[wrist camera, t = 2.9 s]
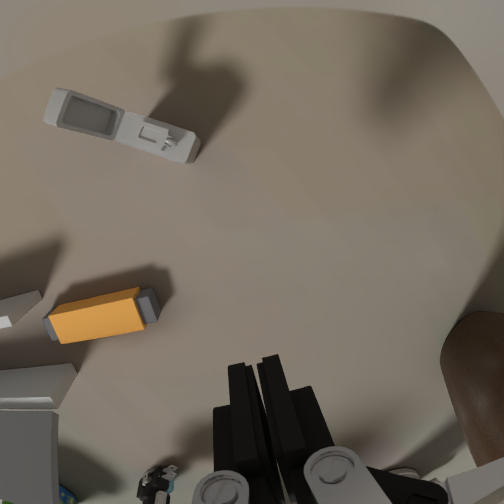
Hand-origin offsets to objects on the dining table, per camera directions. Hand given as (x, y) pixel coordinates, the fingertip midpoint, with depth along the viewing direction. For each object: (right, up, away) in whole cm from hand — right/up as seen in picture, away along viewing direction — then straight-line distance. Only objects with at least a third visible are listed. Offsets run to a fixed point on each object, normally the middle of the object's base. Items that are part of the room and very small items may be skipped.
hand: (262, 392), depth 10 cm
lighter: (-7, +12, +9) cm, 17 cm away
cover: (-21, -11, +5) cm, 24 cm away
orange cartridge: (-12, 0, +12) cm, 17 cm away
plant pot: (+21, -5, +17) cm, 27 cm away
